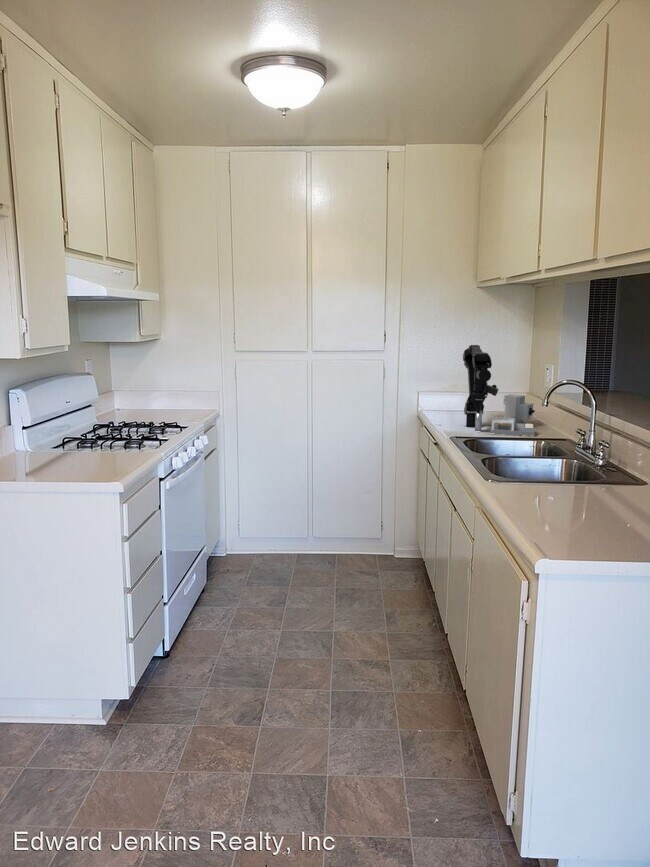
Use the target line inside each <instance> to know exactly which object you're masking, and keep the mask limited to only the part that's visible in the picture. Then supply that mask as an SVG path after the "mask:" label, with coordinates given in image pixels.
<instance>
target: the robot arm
mask: <svg viewBox="0 0 650 867" xmlns="http://www.w3.org/2000/svg"><path fill="white" fill-rule="evenodd" d="M462 361H463V365H464V366H465V368H466V369H467V379H468V397H467V399H466V402H465V405H464V408H463V413H464V415H466V417H465V418H466V420H465V421H466V422H465V427H467V428H468V427H469V428H475V417H476V412H477V414H479V413H480V411H482V415H483V414H484V408H485V405H484V402H485V401H486V398H487V397H488V395H489V394H490V395H492V396H494V397H496V396H497V395H498V392H499V387H498V388H497V385H496V384H493V385H490V384H488V382H489V381H490V380H491V379H492V374H491V371H490V370H489V369H491V368H492V366H493V362H492V358H491V356H490V355H489V353H488V352H484V351H483V350H482V349H481V346H480V345H478V344H471V345H468V347H467V348H466V349H465V350H464V351H463V354H462Z"/></svg>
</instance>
